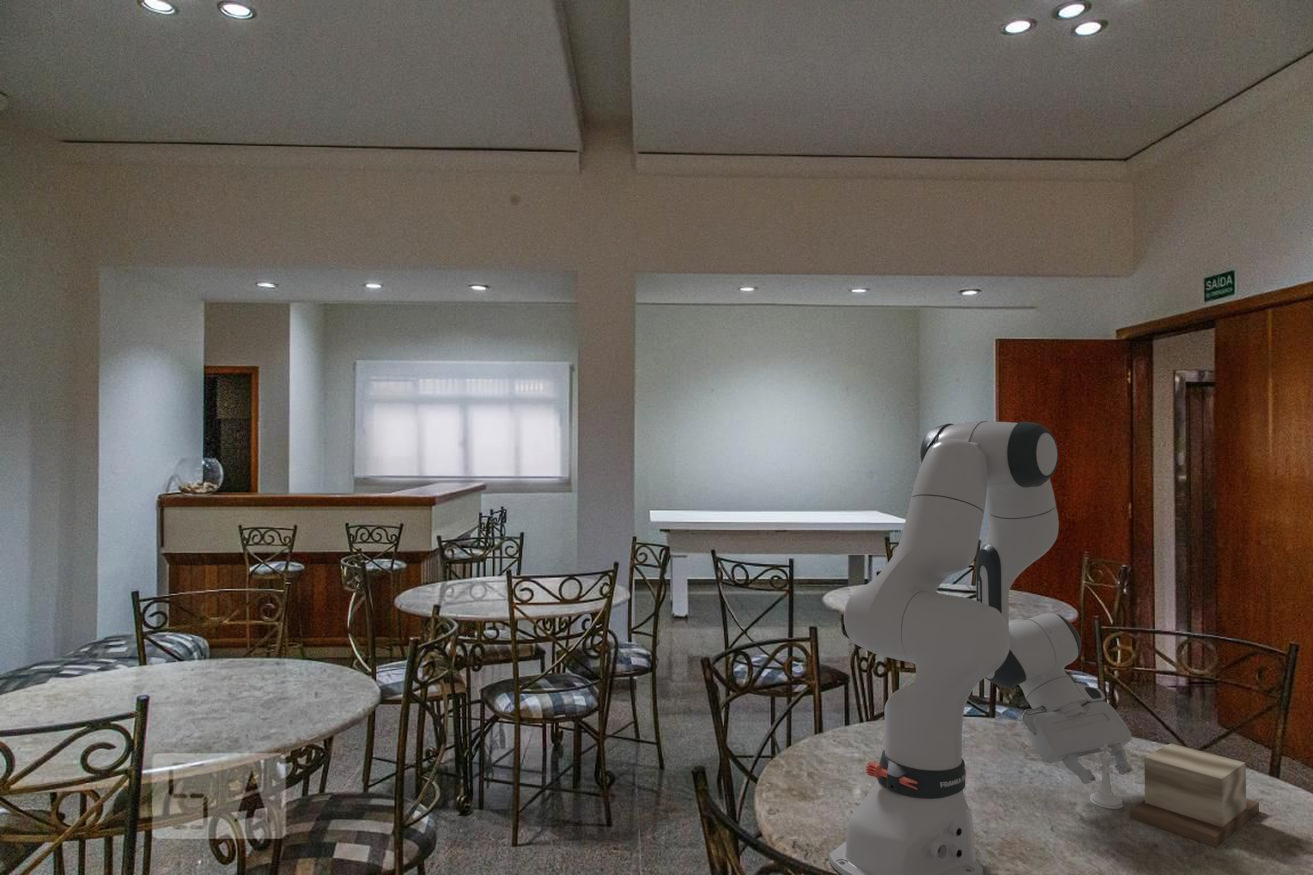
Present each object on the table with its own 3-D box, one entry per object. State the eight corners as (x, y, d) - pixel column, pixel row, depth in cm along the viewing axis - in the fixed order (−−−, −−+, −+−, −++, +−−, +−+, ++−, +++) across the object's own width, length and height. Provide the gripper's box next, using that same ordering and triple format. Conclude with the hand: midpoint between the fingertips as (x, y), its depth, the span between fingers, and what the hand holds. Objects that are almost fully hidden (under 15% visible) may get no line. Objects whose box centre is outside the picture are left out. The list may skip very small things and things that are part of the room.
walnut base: (1215, 846, 120) (1214, 787, 120) (1130, 817, 129) (1129, 762, 129) (1259, 811, 132) (1258, 757, 132) (1178, 786, 141) (1177, 736, 141)
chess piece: (1127, 810, 132) (1126, 750, 132) (1095, 807, 133) (1094, 747, 133) (1116, 797, 137) (1115, 739, 137) (1085, 795, 138) (1085, 737, 138)
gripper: (1027, 701, 137) (1078, 779, 128) (1106, 688, 146) (1159, 759, 137) (1007, 719, 141) (1055, 796, 132) (1085, 705, 150) (1135, 775, 141)
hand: (1109, 777), depth 134 cm, fingers open, 8 cm apart
